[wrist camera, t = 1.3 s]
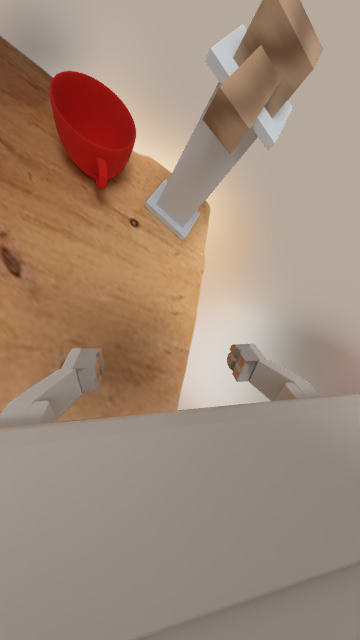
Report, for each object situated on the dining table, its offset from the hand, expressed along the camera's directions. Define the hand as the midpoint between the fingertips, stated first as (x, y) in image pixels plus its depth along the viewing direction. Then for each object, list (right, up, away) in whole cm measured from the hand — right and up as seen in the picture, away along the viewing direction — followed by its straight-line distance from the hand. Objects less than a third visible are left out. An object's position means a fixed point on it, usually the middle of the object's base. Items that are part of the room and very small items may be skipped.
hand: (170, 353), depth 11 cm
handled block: (+9, +29, +11) cm, 33 cm away
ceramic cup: (-18, +33, +27) cm, 46 cm away
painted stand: (-1, +30, +35) cm, 46 cm away
